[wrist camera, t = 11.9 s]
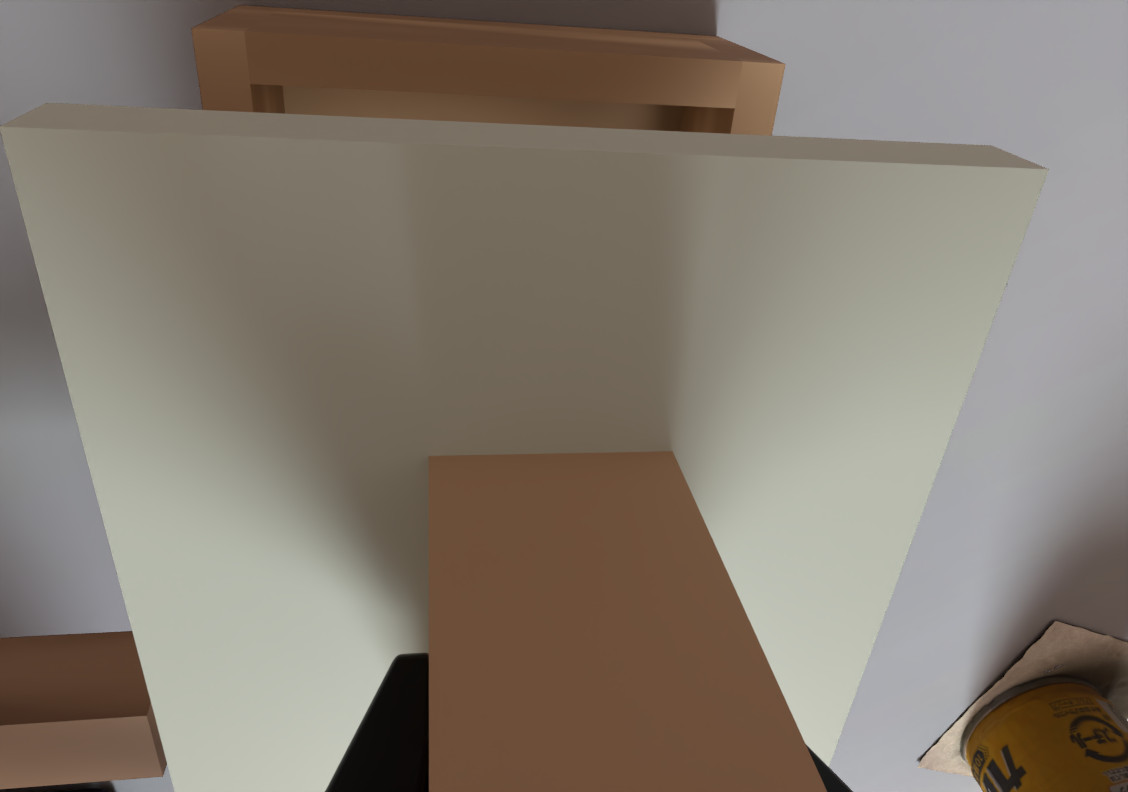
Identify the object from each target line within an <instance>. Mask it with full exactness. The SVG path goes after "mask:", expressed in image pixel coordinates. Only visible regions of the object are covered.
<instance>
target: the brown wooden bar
mask: <svg viewBox="0 0 1128 792" xmlns="http://www.w3.org/2000/svg"><path fill="white" fill-rule="evenodd" d="M166 765H167V761H166V757H165V753H164V750H163V746H162V742H161V738H160V734H159V731H158V727H157V723H156V719H155V715H154V712H153V708H152V704H151V700H150V696H149V693H148V689H147V685H146V681H145V678H144V674H143V670H142V666H141V662H140V659H139V655H138V651H137V647H136V643H135V640H134V636H133V632H132V631H126V632H106V633H87V634H67V635H48V636H28V637H9V638H0V789H11V788H23V787H36V786H49V785H61V784H74V783H87V782H100V781H112V780H125V779H138V778H151V777H163V775H164V771H165V768H166Z"/></svg>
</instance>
